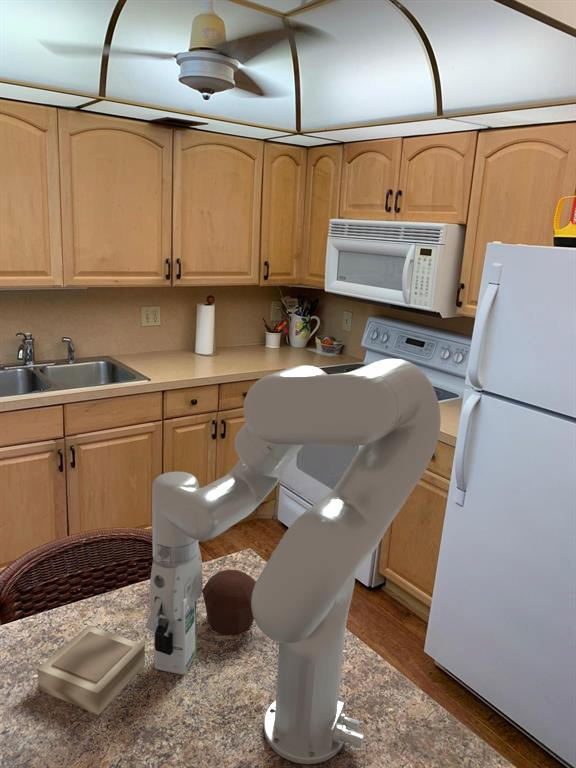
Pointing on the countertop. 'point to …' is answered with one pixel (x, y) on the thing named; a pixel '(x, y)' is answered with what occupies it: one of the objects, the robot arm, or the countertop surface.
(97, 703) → the base block
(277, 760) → the countertop surface
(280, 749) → the robot arm
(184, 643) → the syrup box
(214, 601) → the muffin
